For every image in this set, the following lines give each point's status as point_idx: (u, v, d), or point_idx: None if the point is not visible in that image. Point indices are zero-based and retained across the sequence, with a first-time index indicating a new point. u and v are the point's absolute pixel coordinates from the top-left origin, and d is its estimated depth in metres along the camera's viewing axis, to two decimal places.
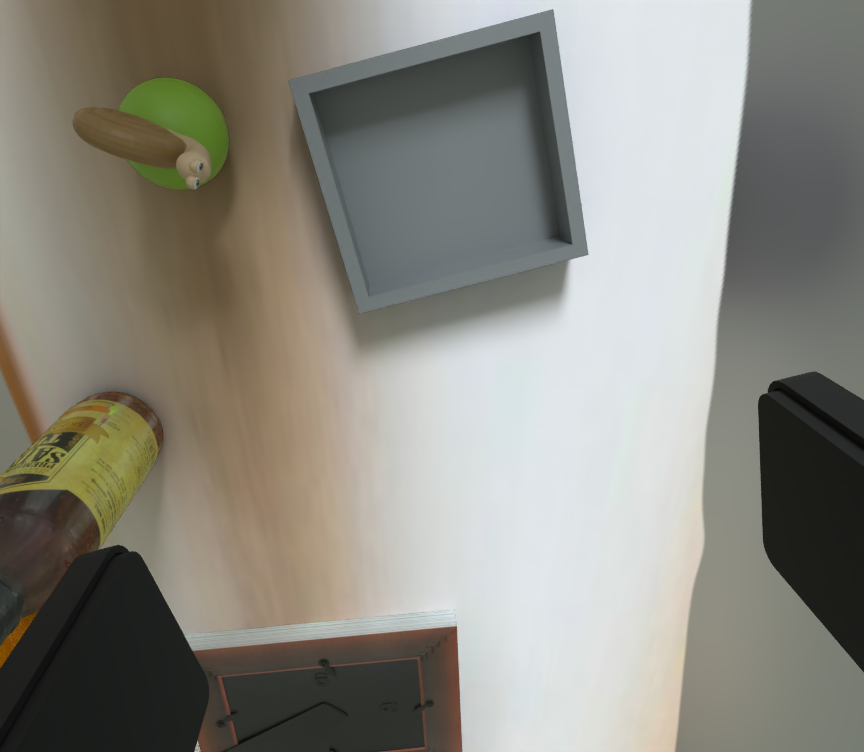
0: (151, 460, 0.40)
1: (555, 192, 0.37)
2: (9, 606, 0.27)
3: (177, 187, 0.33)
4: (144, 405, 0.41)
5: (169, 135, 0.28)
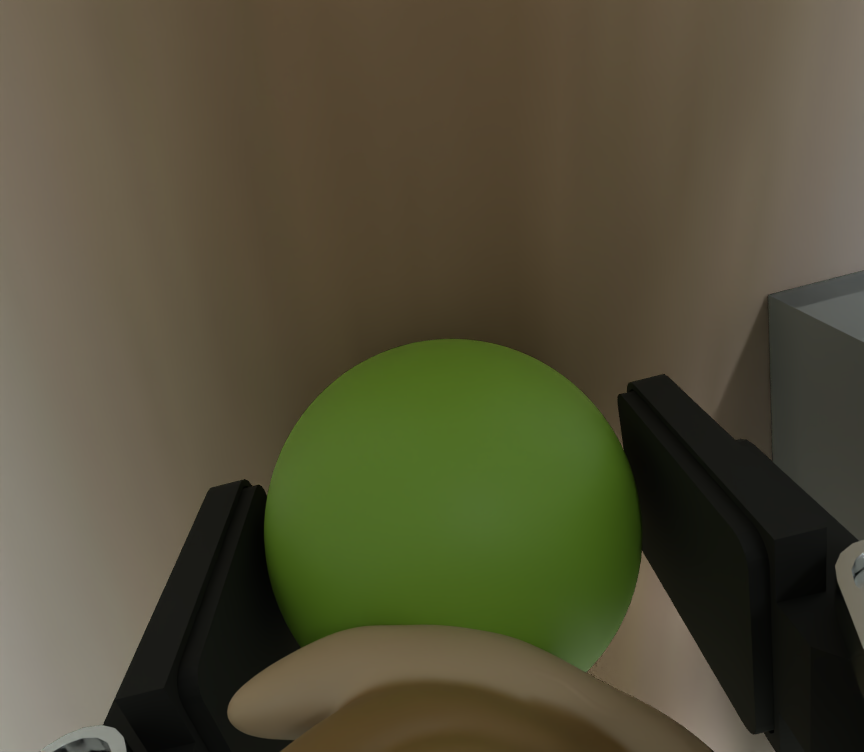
0: None
1: None
2: None
3: None
4: None
5: None
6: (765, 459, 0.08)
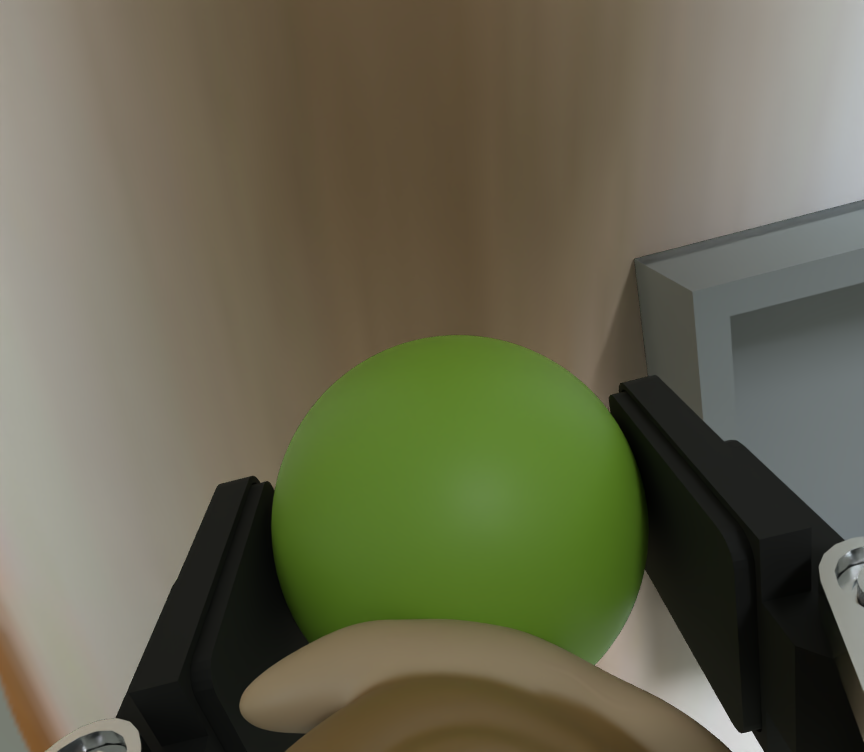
0: None
1: None
2: None
3: None
4: None
5: None
6: (754, 459, 0.08)
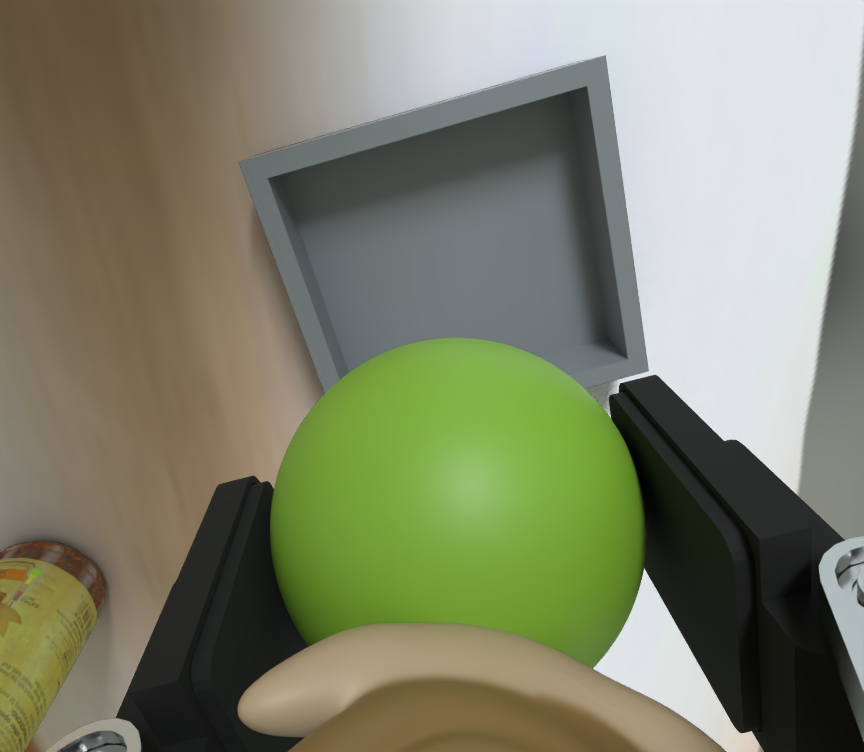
0: (86, 631, 0.31)
1: (602, 287, 0.28)
2: None
3: None
4: (79, 556, 0.32)
5: None
6: (754, 459, 0.08)
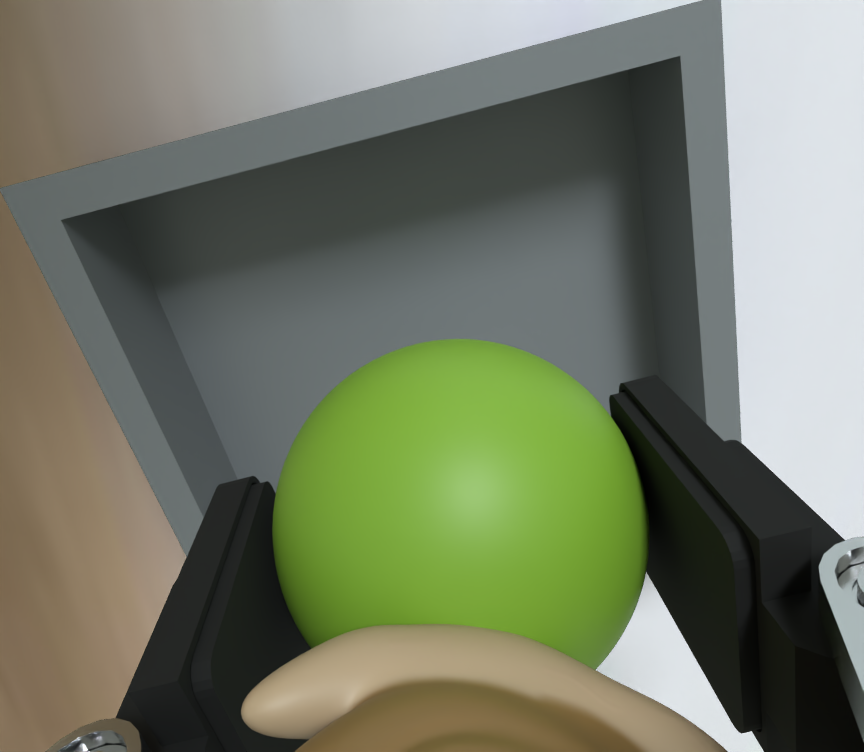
0: None
1: None
2: None
3: None
4: None
5: None
6: (754, 460, 0.08)
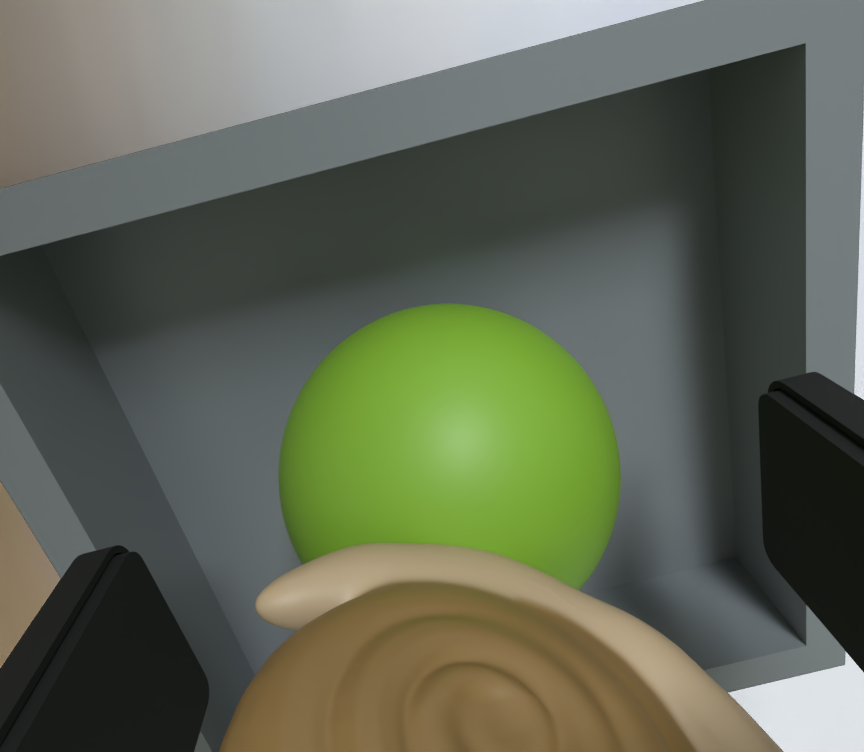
0: None
1: (744, 478, 0.13)
2: None
3: None
4: None
5: None
6: None
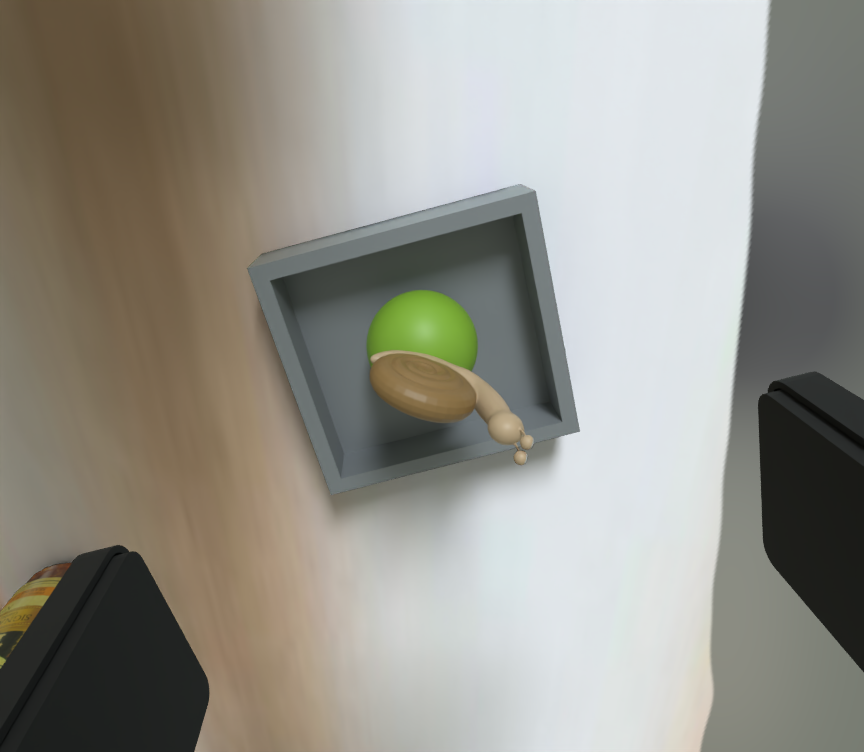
0: None
1: (543, 361, 0.34)
2: None
3: None
4: None
5: (463, 382, 0.26)
6: None
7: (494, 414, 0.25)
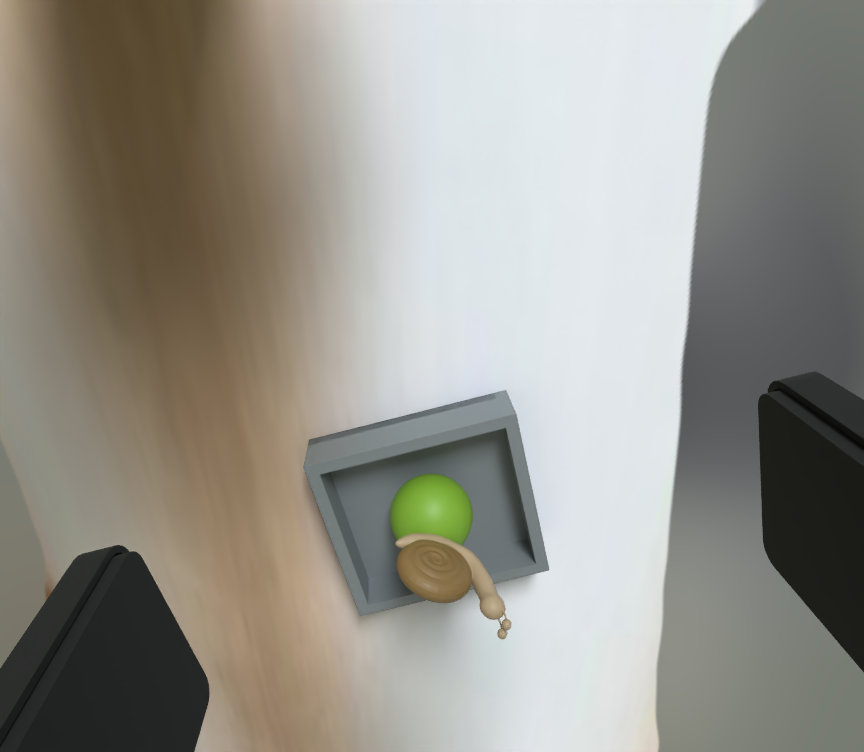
0: None
1: (522, 514, 0.45)
2: None
3: None
4: None
5: (462, 566, 0.36)
6: None
7: (484, 596, 0.35)
